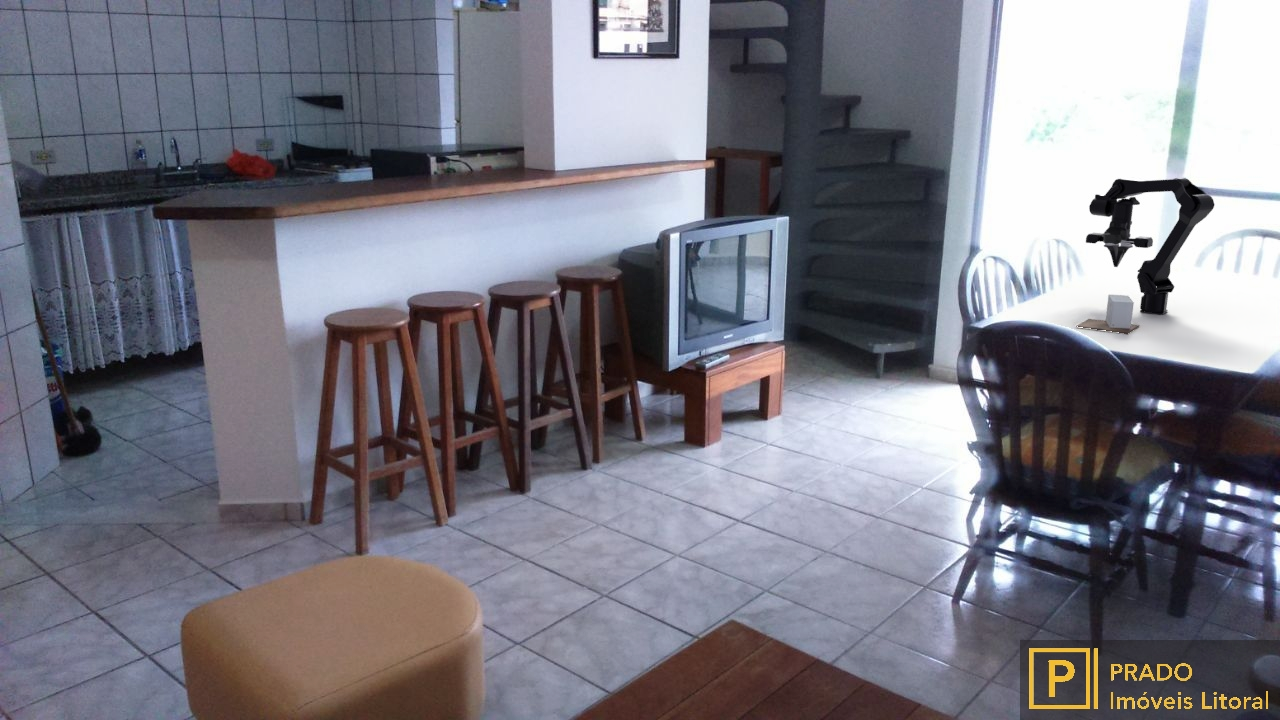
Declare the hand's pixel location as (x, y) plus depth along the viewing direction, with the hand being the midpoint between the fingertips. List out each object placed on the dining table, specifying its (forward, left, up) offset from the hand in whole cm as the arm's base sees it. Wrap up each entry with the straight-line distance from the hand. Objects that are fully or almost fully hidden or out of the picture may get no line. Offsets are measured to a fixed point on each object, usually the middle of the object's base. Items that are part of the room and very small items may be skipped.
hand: (1115, 266), depth 318 cm
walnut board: (-9, +37, -12) cm, 40 cm away
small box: (-9, +29, -7) cm, 32 cm away
